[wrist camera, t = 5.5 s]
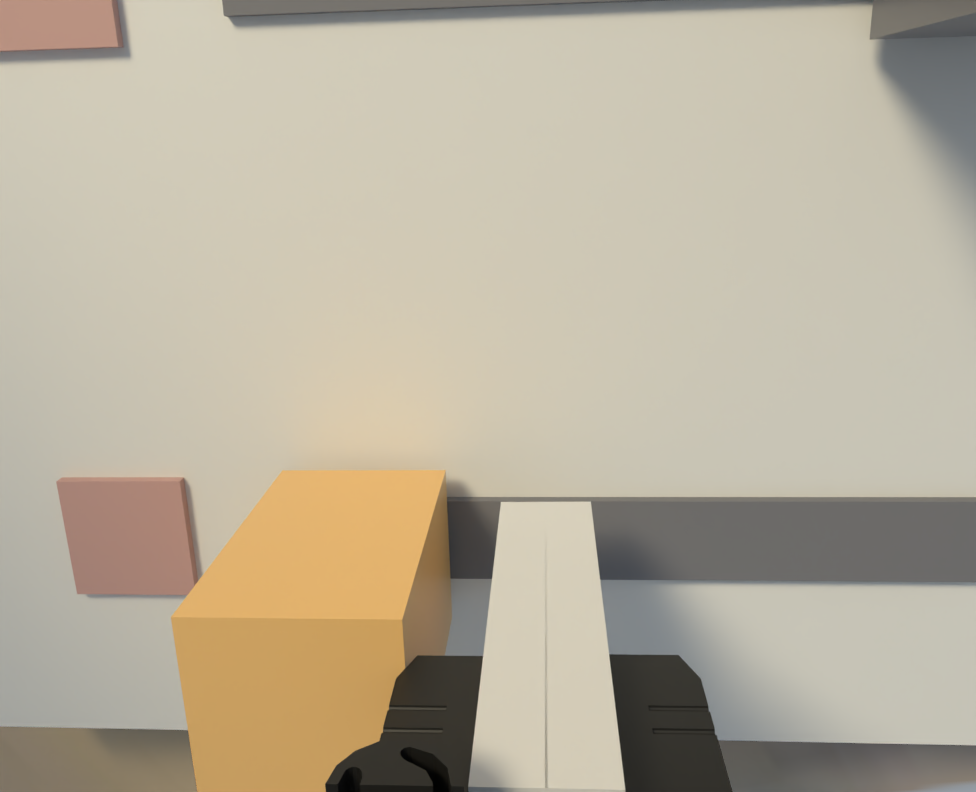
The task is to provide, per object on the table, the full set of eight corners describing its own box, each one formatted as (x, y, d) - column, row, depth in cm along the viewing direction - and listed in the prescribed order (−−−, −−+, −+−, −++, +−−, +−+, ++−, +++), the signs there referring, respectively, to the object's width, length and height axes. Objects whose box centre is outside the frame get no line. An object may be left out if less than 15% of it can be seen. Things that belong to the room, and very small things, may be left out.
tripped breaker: (297, 615, 17) (200, 808, 12) (282, 470, 16) (170, 617, 11) (452, 616, 17) (414, 813, 12) (445, 469, 16) (402, 619, 11)
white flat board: (36, 645, 22) (-48, 731, 19) (-152, -264, 16) (-317, -356, 13) (1239, 661, 20) (1367, 759, 17) (1508, -368, 14) (1774, -505, 11)
